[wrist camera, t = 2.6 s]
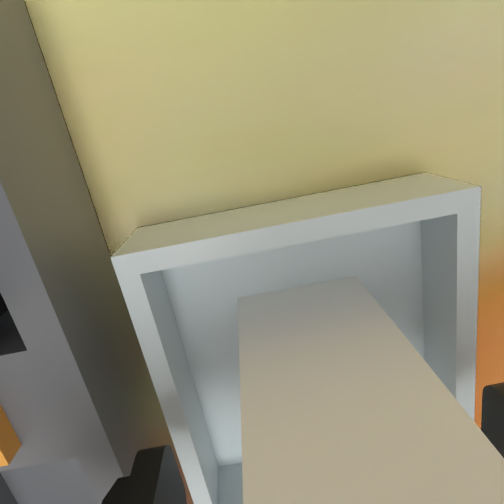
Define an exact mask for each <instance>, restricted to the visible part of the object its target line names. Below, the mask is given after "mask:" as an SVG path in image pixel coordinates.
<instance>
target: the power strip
mask: <svg viewBox="0 0 504 504" xmlns="http://www.w3.org/2000/svg"><path fill="white" fill-rule="evenodd" d="M110 257H111V256H110V253H109V250H108V247H107V244H106V242H105V239H104V236H103V233H102V230H101V227H100V224H99V221H98V218H97V215H96V212H95V209H94V206H93V203H92V200H91V197H90V194H89V191H88V188H87V185H86V182H85V179H84V176H83V174H82V171H81V168H80V165H79V162H78V159H77V156H76V153H75V150H74V147H73V144H72V141H71V138H70V135H69V132H68V129H67V126H66V123H65V120H64V117H63V114H62V111H61V109H60V106H59V103H58V100H57V97H56V94H55V91H54V88H53V85H52V82H51V79H50V76H49V73H48V70H47V67H46V64H45V61H44V58H43V55H42V52H41V49H40V46H39V43H38V41H37V38H36V35H35V32H34V29H33V26H32V23H31V20H30V17H29V14H28V11H27V8H26V5H25V2H24V0H0V504H101V503H102V500H103V499H104V497H105V496H106V494H107V493H108V492H109V490H110V489H111V487H112V486H113V484H114V483H115V481H116V480H117V479H118V478H120V477H126V476H130V473H131V470H132V466H133V463H134V459H135V456H136V454H137V452H138V451H139V450H142V449H147V448H152V447H158V446H163V445H170V446H171V448H172V451H173V454H174V457H175V460H176V463H177V466H178V469H179V472H180V474H181V477H182V480H183V483H184V487H185V491H186V500H187V504H194V503H193V500H192V497H191V494H190V491H189V488H188V485H187V482H186V479H185V476H184V473H183V470H182V467H181V465H180V462H179V459H178V456H177V453H176V450H175V447H174V444H173V441H172V438H171V435H170V432H169V429H168V426H167V423H166V420H165V417H164V414H163V411H162V408H161V405H160V403H159V400H158V397H157V394H156V391H155V388H154V385H153V382H152V379H151V376H150V373H149V370H148V367H147V364H146V361H145V358H144V355H143V352H142V349H141V346H140V344H139V341H138V338H137V335H136V332H135V329H134V326H133V323H132V320H131V317H130V314H129V311H128V308H127V305H126V302H125V299H124V296H123V293H122V290H121V287H120V285H119V282H118V279H117V276H116V273H115V270H114V267H113V264H112V261H111V258H110Z"/></svg>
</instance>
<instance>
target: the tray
mask: <svg viewBox="0 0 504 504" xmlns="http://www.w3.org/2000/svg"><path fill="white" fill-rule="evenodd" d="M480 209H481V186H478V185H474V184H470V183H466V182H462V181H458V180H454V179H450V178H446V177H442V176H438V175H434V174H431V173H427V172H425V173H420V174H415V175H410V176H404V177H399V178H394V179H389V180H384V181H378V182H373V183H368V184H363V185H358V186H353V187H347V188H342V189H337V190H332V191H327V192H321V193H316V194H311V195H306V196H301V197H295V198H290V199H285V200H280V201H275V202H269V203H264V204H259V205H254V206H249V207H244V208H238V209H233V210H228V211H223V212H218V213H212V214H207V215H202V216H197V217H192V218H186V219H181V220H176V221H171V222H166V223H161V224H155V225H150V226H145V227H140V228H137V229H136V230H135V231H134V232H133V233H132V234H131V235H130V236H129V238H128V239H127V240H126V241H125V242H124V243H123V244H122V245H121V246H120V247H119V248H118V250H117V251H116V252H115V253H114V254H113V255H112V256H111V257H110V258H111V261H112V264H113V267H114V270H115V273H116V276H117V279H118V282H119V285H120V287H121V290H122V293H123V296H124V299H125V302H126V305H127V308H128V311H129V314H130V317H131V320H132V323H133V326H134V329H135V332H136V335H137V338H138V341H139V344H140V346H141V349H142V352H143V355H144V358H145V361H146V364H147V367H148V370H149V373H150V376H151V379H152V382H153V385H154V388H155V391H156V394H157V397H158V400H159V403H160V405H161V408H162V411H163V414H164V417H165V420H166V423H167V426H168V429H169V432H170V435H171V438H172V441H173V444H174V447H175V450H176V453H177V456H178V459H179V462H180V465H181V467H182V470H183V473H184V476H185V479H186V482H187V485H188V488H189V491H190V494H191V497H192V500H193V503H194V504H243V477H242V440H241V403H240V366H239V328H238V298H242V297H247V296H252V295H257V294H263V293H268V292H273V291H279V290H284V289H289V288H295V287H300V286H305V285H310V284H316V283H321V282H326V281H332V280H337V279H342V278H347V277H353V276H357V277H358V279H359V280H360V281H361V282H362V284H363V285H364V286H365V287H366V289H367V290H368V291H369V292H370V294H371V295H372V296H373V297H374V298H375V300H376V301H377V302H378V303H379V305H380V306H381V307H382V308H383V310H384V311H385V312H386V313H387V315H388V316H389V317H390V318H391V319H392V321H393V322H394V323H395V324H396V326H397V327H398V328H399V329H400V331H401V332H402V333H403V334H404V336H405V337H406V338H407V339H408V340H409V342H410V343H411V344H412V345H413V347H414V348H415V349H416V350H417V352H418V353H419V354H420V355H421V357H422V358H423V359H424V360H425V362H426V363H427V364H428V365H429V366H430V368H431V369H432V370H433V371H434V373H435V374H436V375H437V376H438V378H439V379H440V380H441V381H442V383H443V384H444V385H445V386H446V387H447V389H448V390H449V391H450V392H451V394H452V395H453V396H454V397H455V399H456V400H457V401H458V402H459V404H460V405H461V406H462V407H463V408H464V410H465V411H466V412H467V413H468V415H469V416H470V417H471V418H472V420H473V421H474V412H475V378H476V344H477V310H478V276H479V242H480Z"/></svg>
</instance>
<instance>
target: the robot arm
mask: <svg viewBox="0 0 504 504" xmlns="http://www.w3.org/2000/svg"><path fill="white" fill-rule="evenodd" d="M481 431H482V432H483V433H484V434H485V436H486V437H487V438H488V439H489V441H490V442H491V443H492V444H493V446H494V447H495V448H496V449H497V451H498V452H499V453H500V454H501V455H502V457H503V458H504V383H498V384H493V385H488V386H485V387H484V389H483V396H482V422H481ZM101 504H187V500H186V491H185V487H184V483H183V480H182V477H181V474H180V472H179V469H178V466H177V463H176V460H175V457H174V454H173V451H172V448H171V446H170V445H163V446H158V447H152V448H147V449H142V450H139V451H138V452H137V454H136V456H135V459H134V463H133V466H132V470H131V473H130V476H126V477H120V478H118V479H117V480H116V481H115V483H114V484H113V486H112V487H111V489H110V490H109V492H108V493H107V494H106V496H105V497H104V499H103V500H102V503H101Z"/></svg>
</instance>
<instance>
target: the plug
mask: <svg viewBox="0 0 504 504" xmlns="http://www.w3.org/2000/svg"><path fill="white" fill-rule="evenodd" d="M238 328H239V366H240V403H241V440H242V477H243V504H504V458H503V457H502V455H501V454H500V453H499V452H498V451H497V449H496V448H495V447H494V446H493V444H492V443H491V442H490V441H489V439H488V438H487V437H486V436H485V434H484V433H483V432H482V431H481V430H480V428H479V427H478V426H477V425H476V423H475V422H474V421H473V420H472V418H471V417H470V416H469V415H468V413H467V412H466V411H465V410H464V408H463V407H462V406H461V405H460V404H459V402H458V401H457V400H456V399H455V397H454V396H453V395H452V394H451V392H450V391H449V390H448V389H447V387H446V386H445V385H444V384H443V383H442V381H441V380H440V379H439V378H438V376H437V375H436V374H435V373H434V371H433V370H432V369H431V368H430V366H429V365H428V364H427V363H426V362H425V360H424V359H423V358H422V357H421V355H420V354H419V353H418V352H417V350H416V349H415V348H414V347H413V345H412V344H411V343H410V342H409V340H408V339H407V338H406V337H405V336H404V334H403V333H402V332H401V331H400V329H399V328H398V327H397V326H396V324H395V323H394V322H393V321H392V319H391V318H390V317H389V316H388V315H387V313H386V312H385V311H384V310H383V308H382V307H381V306H380V305H379V303H378V302H377V301H376V300H375V298H374V297H373V296H372V295H371V294H370V292H369V291H368V290H367V289H366V287H365V286H364V285H363V284H362V282H361V281H360V280H359V279H358V277H357V276H353V277H347V278H342V279H337V280H332V281H326V282H321V283H316V284H310V285H305V286H300V287H295V288H289V289H284V290H279V291H273V292H268V293H263V294H257V295H252V296H247V297H242V298H238Z"/></svg>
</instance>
